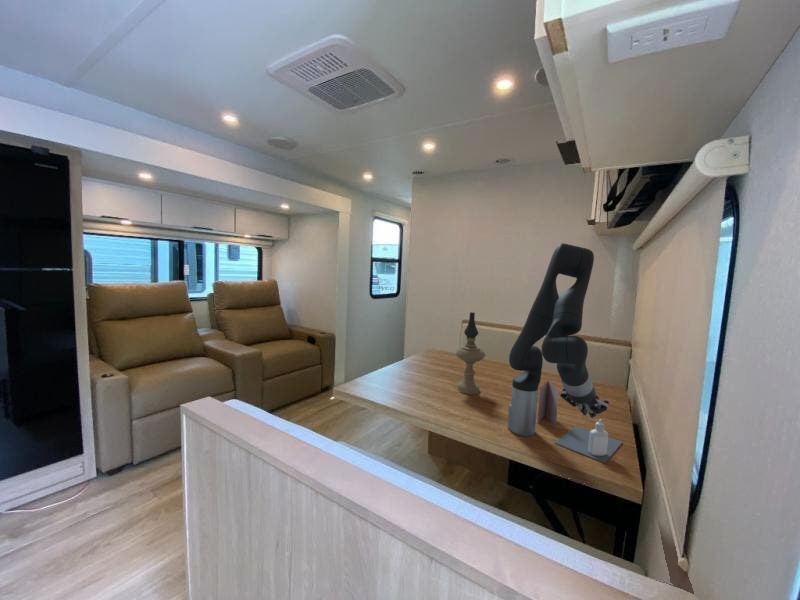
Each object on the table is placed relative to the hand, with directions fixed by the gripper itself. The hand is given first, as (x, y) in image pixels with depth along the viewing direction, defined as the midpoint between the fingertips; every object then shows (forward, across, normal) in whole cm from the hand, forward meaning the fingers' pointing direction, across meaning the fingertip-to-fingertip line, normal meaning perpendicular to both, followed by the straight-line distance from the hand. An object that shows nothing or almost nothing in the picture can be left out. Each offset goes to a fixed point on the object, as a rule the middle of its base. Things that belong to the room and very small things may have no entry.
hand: (589, 413), depth 103 cm
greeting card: (+30, +22, -5) cm, 38 cm away
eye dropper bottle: (+21, 0, +4) cm, 21 cm away
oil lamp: (+32, +64, -6) cm, 72 cm away
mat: (+25, +4, 0) cm, 26 cm away
